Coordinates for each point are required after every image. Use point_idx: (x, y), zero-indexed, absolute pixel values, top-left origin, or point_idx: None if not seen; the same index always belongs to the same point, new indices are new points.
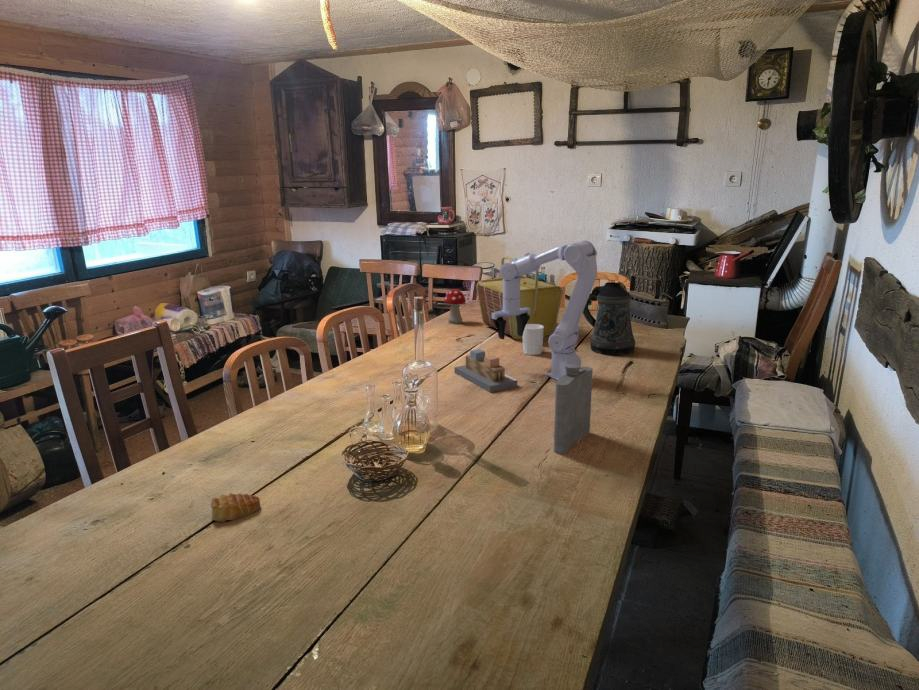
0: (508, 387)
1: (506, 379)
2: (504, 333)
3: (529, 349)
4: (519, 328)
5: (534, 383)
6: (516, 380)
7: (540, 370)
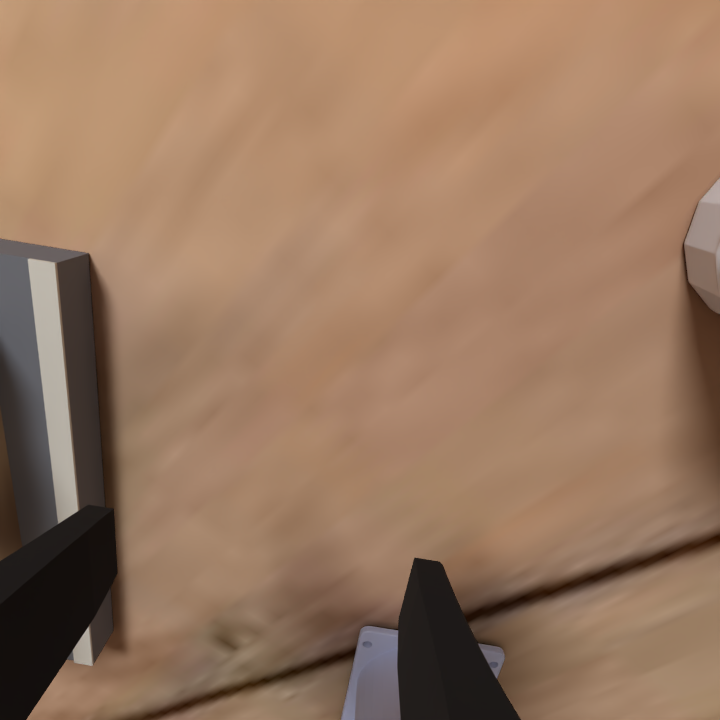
0: None
1: None
2: (60, 665)
3: (717, 284)
4: (419, 689)
5: (220, 653)
6: (89, 662)
7: (411, 559)
